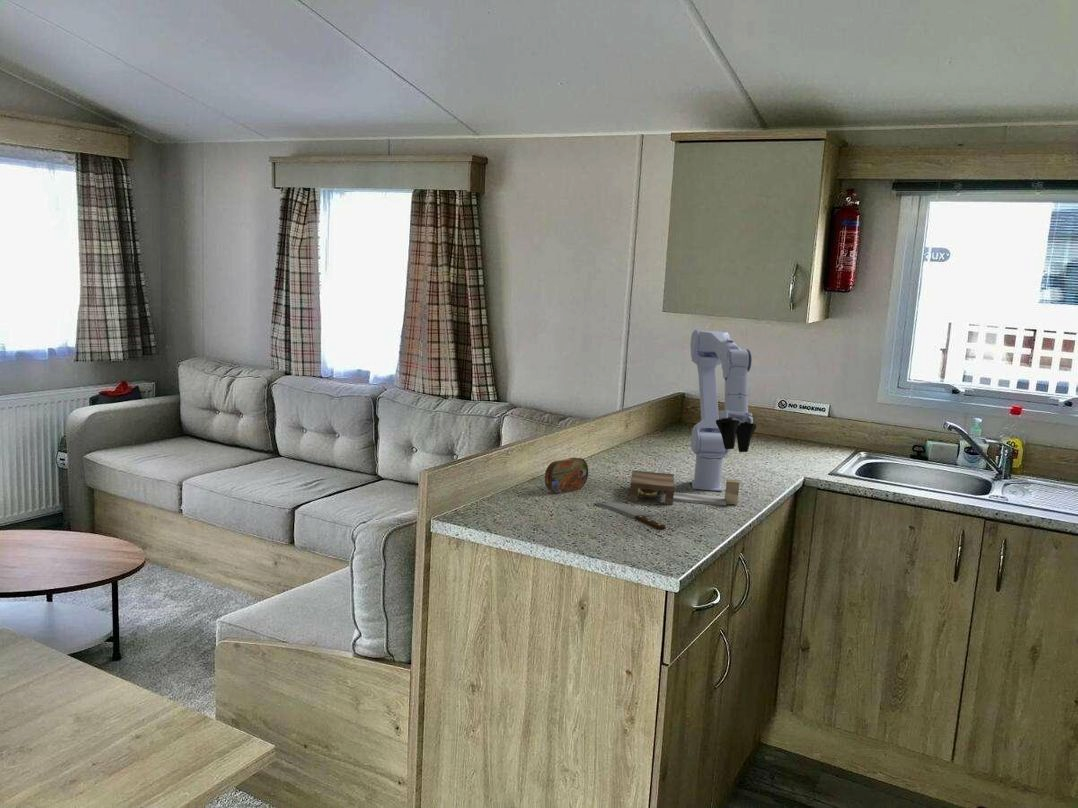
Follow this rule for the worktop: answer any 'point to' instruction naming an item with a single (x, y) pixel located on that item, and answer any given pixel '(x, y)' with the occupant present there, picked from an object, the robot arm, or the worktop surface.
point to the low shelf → (652, 484)
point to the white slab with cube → (729, 498)
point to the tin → (566, 475)
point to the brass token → (647, 493)
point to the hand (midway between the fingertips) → (736, 450)
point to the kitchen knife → (632, 512)
